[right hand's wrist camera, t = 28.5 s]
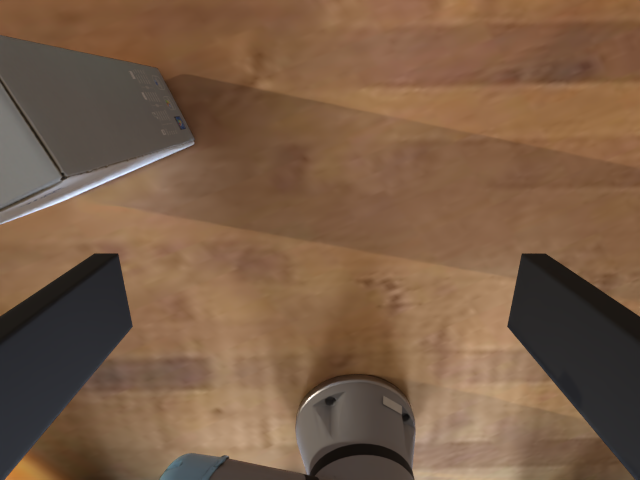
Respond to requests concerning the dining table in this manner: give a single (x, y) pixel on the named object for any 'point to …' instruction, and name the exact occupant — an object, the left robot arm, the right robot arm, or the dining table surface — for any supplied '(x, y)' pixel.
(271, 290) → the dining table surface
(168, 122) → the hard drive box
